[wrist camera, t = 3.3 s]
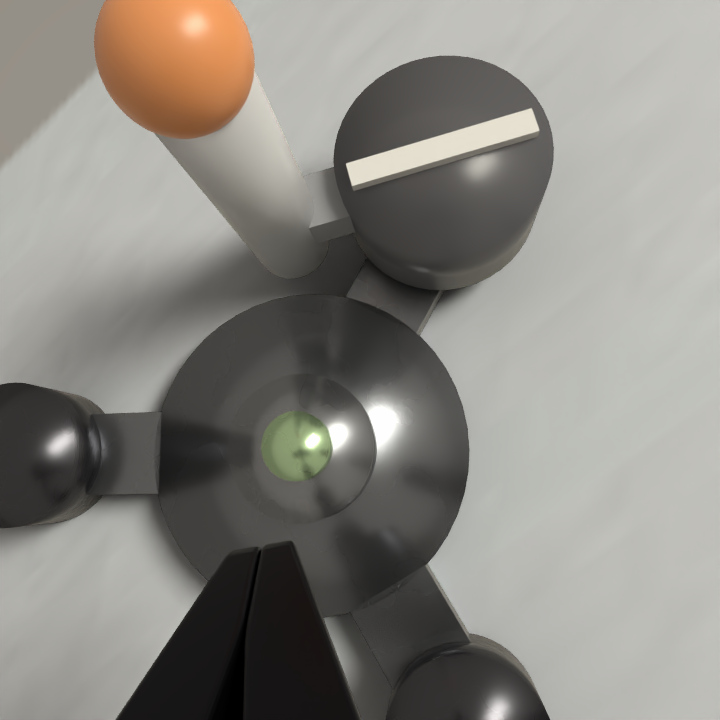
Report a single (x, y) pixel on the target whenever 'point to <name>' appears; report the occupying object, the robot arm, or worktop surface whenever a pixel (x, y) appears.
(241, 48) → the footscrew lever
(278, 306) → the tribrach
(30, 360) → the worktop surface
